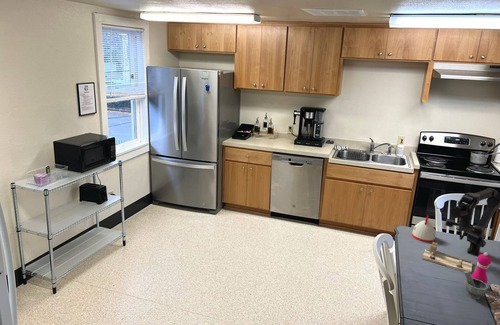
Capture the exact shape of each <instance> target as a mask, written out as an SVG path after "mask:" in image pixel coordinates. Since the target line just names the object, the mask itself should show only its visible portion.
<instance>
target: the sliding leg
mask: <svg viewBox="0 0 500 325" xmlns="http://www.w3.org/2000/svg"><path fill="white" fill-rule="evenodd" d="M438 245H439V244H438V242H435V241H434V242H431V244H430V248H429V249H430V253H431V256H430V257H432V255H433V254H435V253H436V251H438V250H437V249H438Z"/></svg>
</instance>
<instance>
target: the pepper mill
mask: <svg viewBox="0 0 500 325" xmlns="http://www.w3.org/2000/svg"><path fill="white" fill-rule="evenodd" d="M476 260H477V263H476V265H477V266H476V270H474V272H473V273H471V277H472V278H475V279H478V280H481V281H482V282H484V283H486V284H488V275H487V270H488V269H489V266H490V264H491V263H492V258H491V257H490V255H489V253H488V252H487V251H486V252H483V253H482V254H480V255H479V256H477V258H476Z"/></svg>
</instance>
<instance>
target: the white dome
mask: <svg viewBox="0 0 500 325" xmlns="http://www.w3.org/2000/svg"><path fill="white" fill-rule="evenodd" d="M436 234H437V233H436V229H435V228H434V226H433V224H432V223H431V222H430V221H429V215H426V217H425V220H421V221H419V222H418V223H417V224H416V223H415V225H414V226H413V229H412V232H411V237H412V238H413V239H415V240H416V241H419V242H422V243H432V242H434V243H435V240H436V236H437V235H436Z"/></svg>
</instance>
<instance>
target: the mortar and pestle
mask: <svg viewBox="0 0 500 325" xmlns="http://www.w3.org/2000/svg"><path fill="white" fill-rule="evenodd" d="M463 274H464V275H465V278H466V279H465V280H464V287H465V289H466V295H467V296H468V297H469V298H471V299H473V300H480V299H481V298H482V296H483V295H485V294H486V293H487V292H488V289H489V287H488V286H489V285H487V284H488V283H487V284H486V283H484V282H482V281H481V280H478V279H475V278H472V277H471V276H472V274H470V271H464V272H463Z"/></svg>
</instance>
